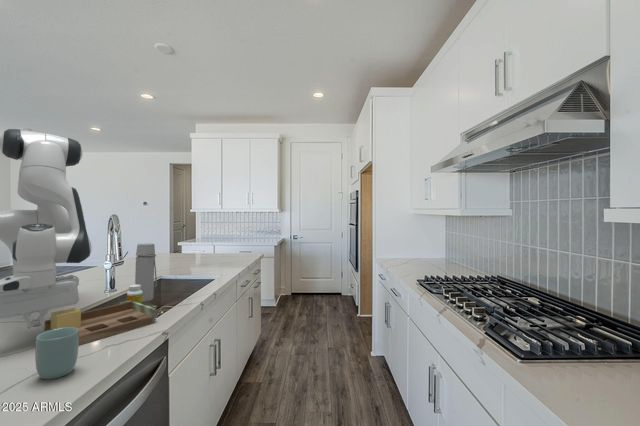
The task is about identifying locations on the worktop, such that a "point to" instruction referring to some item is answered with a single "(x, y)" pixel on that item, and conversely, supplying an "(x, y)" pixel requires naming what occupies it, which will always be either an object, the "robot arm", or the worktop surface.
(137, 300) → the supplement bottle
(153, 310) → the box
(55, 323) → the block
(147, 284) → the water bottle
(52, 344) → the cup
